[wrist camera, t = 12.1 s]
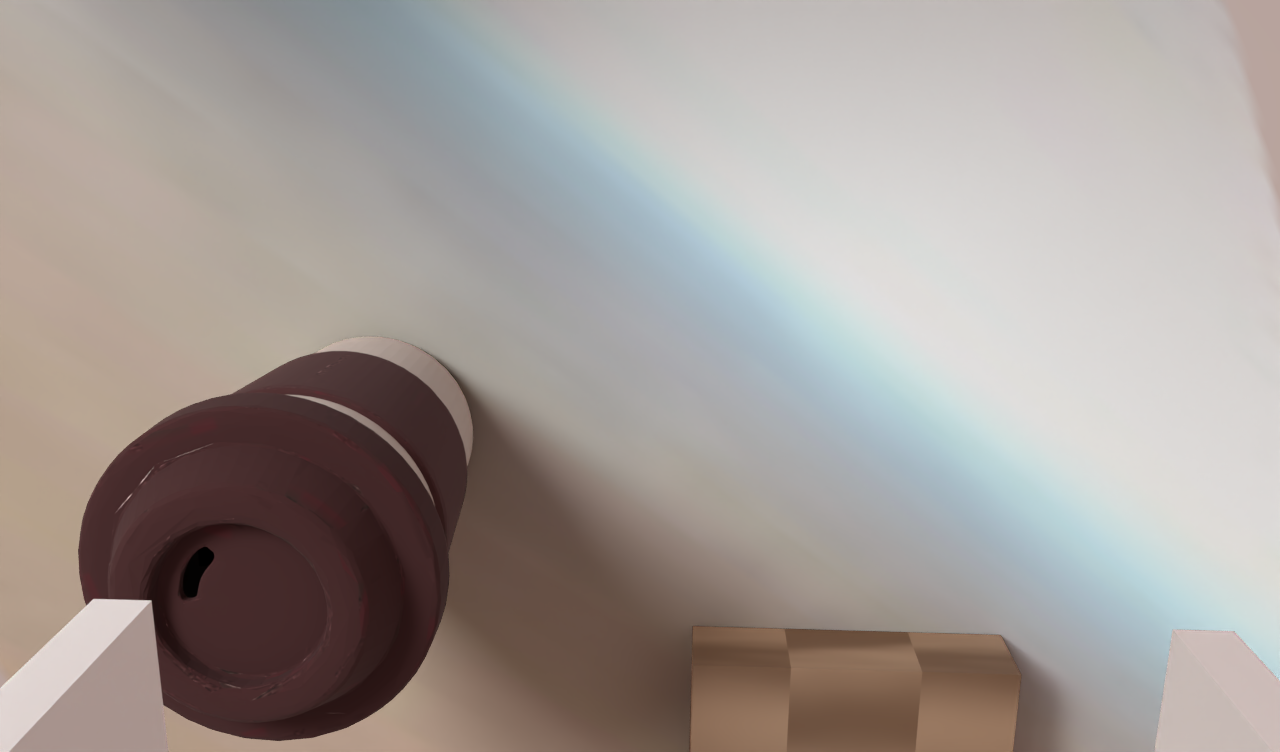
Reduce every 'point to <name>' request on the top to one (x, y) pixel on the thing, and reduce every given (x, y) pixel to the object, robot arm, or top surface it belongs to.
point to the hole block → (850, 691)
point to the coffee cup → (290, 538)
